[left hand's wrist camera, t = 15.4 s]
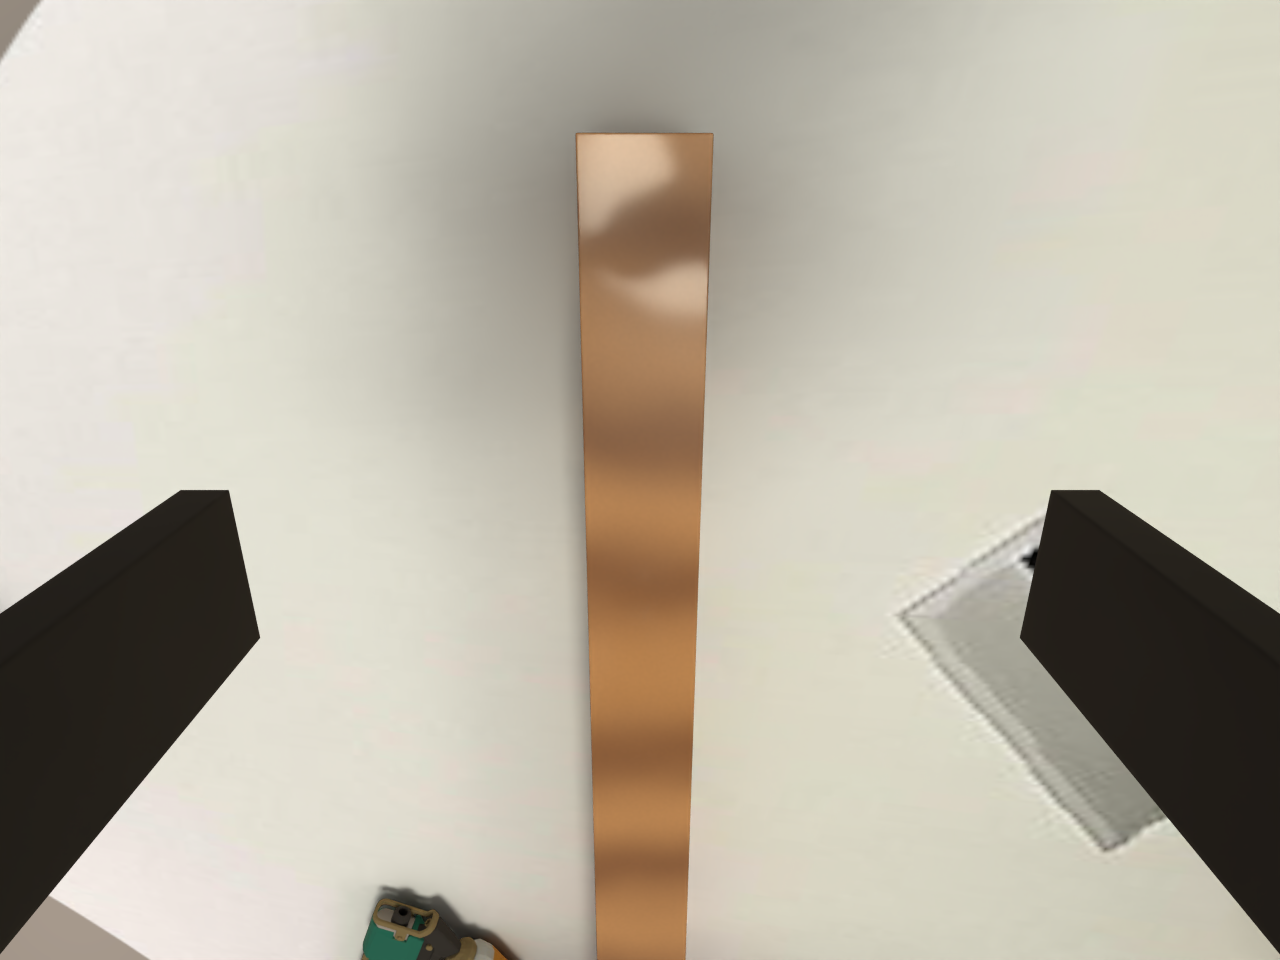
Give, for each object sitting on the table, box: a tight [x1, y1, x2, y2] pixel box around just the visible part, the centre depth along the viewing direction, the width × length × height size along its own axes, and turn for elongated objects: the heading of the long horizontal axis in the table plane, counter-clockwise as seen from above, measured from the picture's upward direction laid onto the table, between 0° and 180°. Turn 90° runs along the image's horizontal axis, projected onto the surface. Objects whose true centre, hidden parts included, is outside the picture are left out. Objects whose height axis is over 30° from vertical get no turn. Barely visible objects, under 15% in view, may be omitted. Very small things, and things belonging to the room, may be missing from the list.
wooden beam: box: [576, 133, 713, 960], centre depth 47 cm, size 64×6×8 cm, turn 0°
